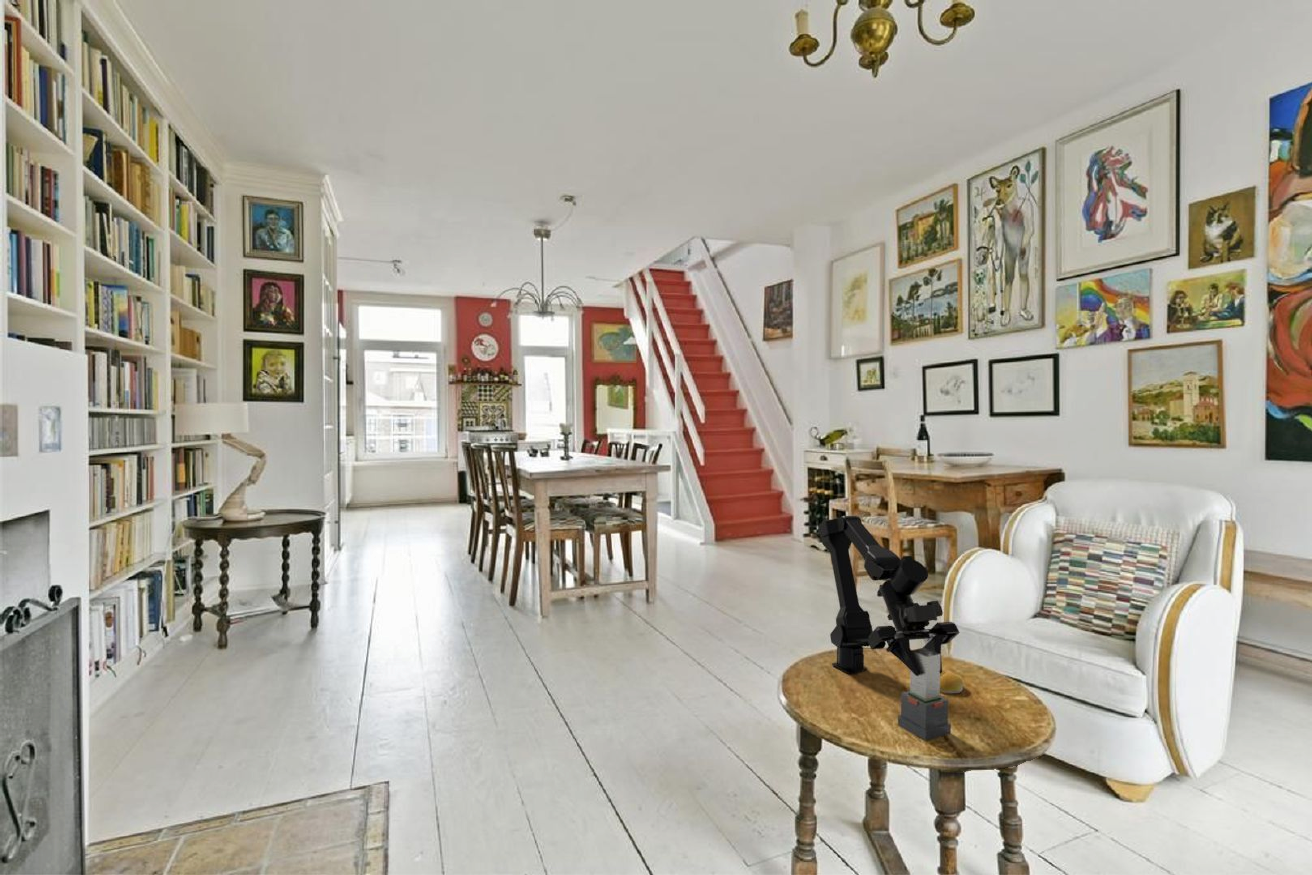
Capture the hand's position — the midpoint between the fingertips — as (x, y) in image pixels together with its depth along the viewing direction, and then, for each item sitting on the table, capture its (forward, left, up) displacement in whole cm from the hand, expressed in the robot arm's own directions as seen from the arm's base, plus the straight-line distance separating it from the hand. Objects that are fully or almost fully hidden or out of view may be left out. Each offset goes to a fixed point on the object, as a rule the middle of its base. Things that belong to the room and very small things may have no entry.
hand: (929, 674), depth 131 cm
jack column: (-1, 0, -7) cm, 7 cm away
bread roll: (-15, +21, -13) cm, 29 cm away
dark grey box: (-1, 0, -12) cm, 12 cm away
